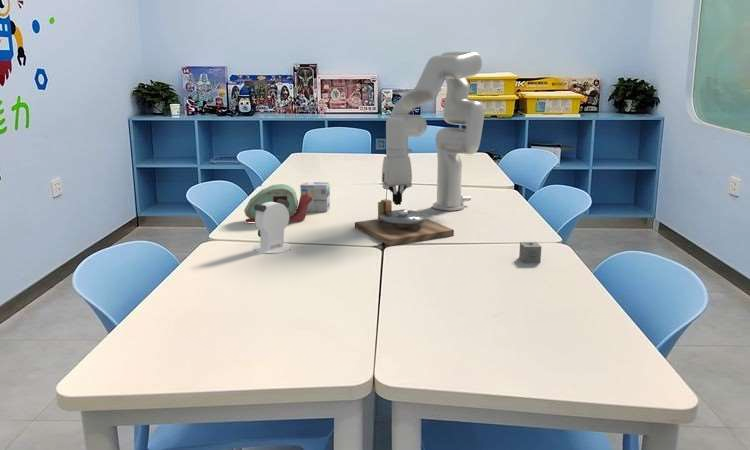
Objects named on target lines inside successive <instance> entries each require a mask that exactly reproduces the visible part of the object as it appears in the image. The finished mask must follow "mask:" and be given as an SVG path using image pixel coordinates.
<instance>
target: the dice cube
mask: <svg viewBox="0 0 750 450" xmlns="http://www.w3.org/2000/svg"><path fill="white" fill-rule="evenodd" d="M518 252H519V255H518V258H519V259H520V261H521V262H522V261H523V262H522V263H523V264H531V263H532V264H534V263H535V264H536V263H537V264H539V263H541V257H542V246H541V245H540V244H539V243H538V242H537V241H519V251H518Z"/></svg>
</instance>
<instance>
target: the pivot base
mask: <svg viewBox="0 0 750 450" xmlns="http://www.w3.org/2000/svg"><path fill="white" fill-rule="evenodd" d="M382 213H384V202H381V201H378V202H377V219H369V220H368V219H367V220H363V221H354V229H356V228H357V229H356V230H359V231H361V232H362V233H364V234H366V235H368V236H370V237H372V238H373V237H374V239H375V240H377V241H380V242H381V243H384V244H385V245H387V246H389V247H391V246H397V245H404V244H409V243H415V242H422V241H428V240H433V239H434V240H435V239H441V238H446V237H447V238H449V237H454V236H455V233H454V232H455V230H454V229H453V228H451V227H447V226H446V225H442V224H441V223H438V222H436V221H433V220H431V219H428V218H427V220H426V221H425V222H423V223H420V224H414V225H394V224H388V223H385V222H382V221H381V220H380V215H381V214H382Z"/></svg>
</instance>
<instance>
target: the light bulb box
mask: <svg viewBox="0 0 750 450" xmlns="http://www.w3.org/2000/svg"><path fill="white" fill-rule="evenodd" d="M299 186H300V188H299V189H300V196H301V195H303V194H305V193H306V191H307V189H308V191H307V193H308V194H311V195H312V198H313V199H312V201H311V202H310V203H308V205H307V212H316V211H318V212H320V213H321V212H323V213H326V212H328V211H329V210H330V209H331V196H330V195H331V193H330V188H331V186H330V182H329V181H303V182H302V183H301V184H300V185H299ZM307 187H308V188H307Z"/></svg>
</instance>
